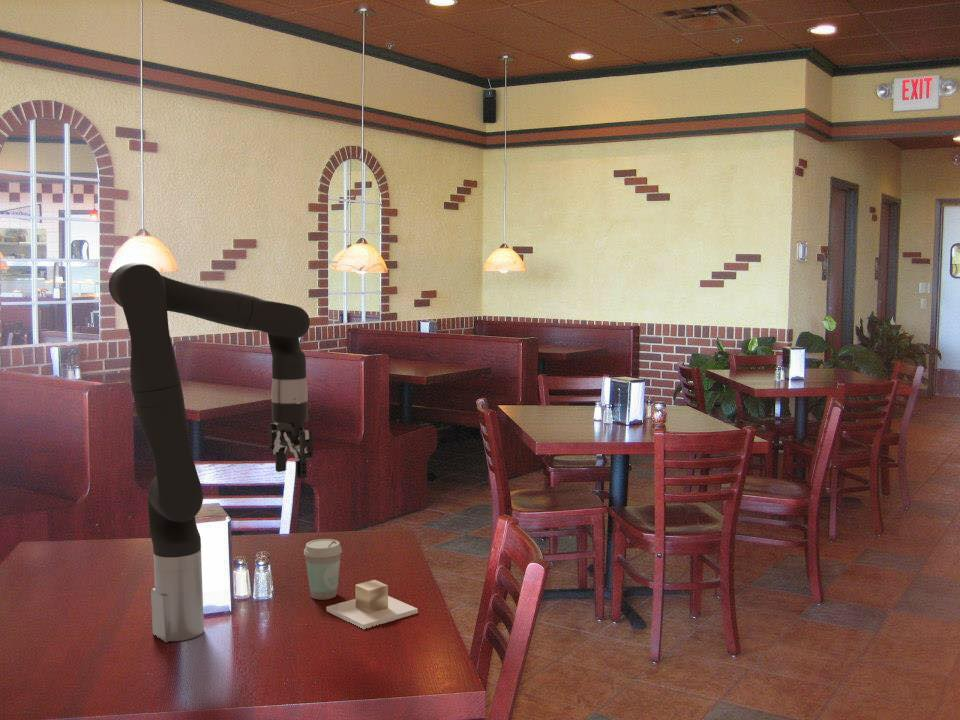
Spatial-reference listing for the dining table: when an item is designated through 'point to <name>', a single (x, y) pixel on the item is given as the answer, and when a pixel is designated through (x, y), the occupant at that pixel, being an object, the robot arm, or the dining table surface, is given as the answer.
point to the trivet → (368, 620)
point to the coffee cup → (323, 567)
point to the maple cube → (371, 596)
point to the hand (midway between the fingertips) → (291, 474)
